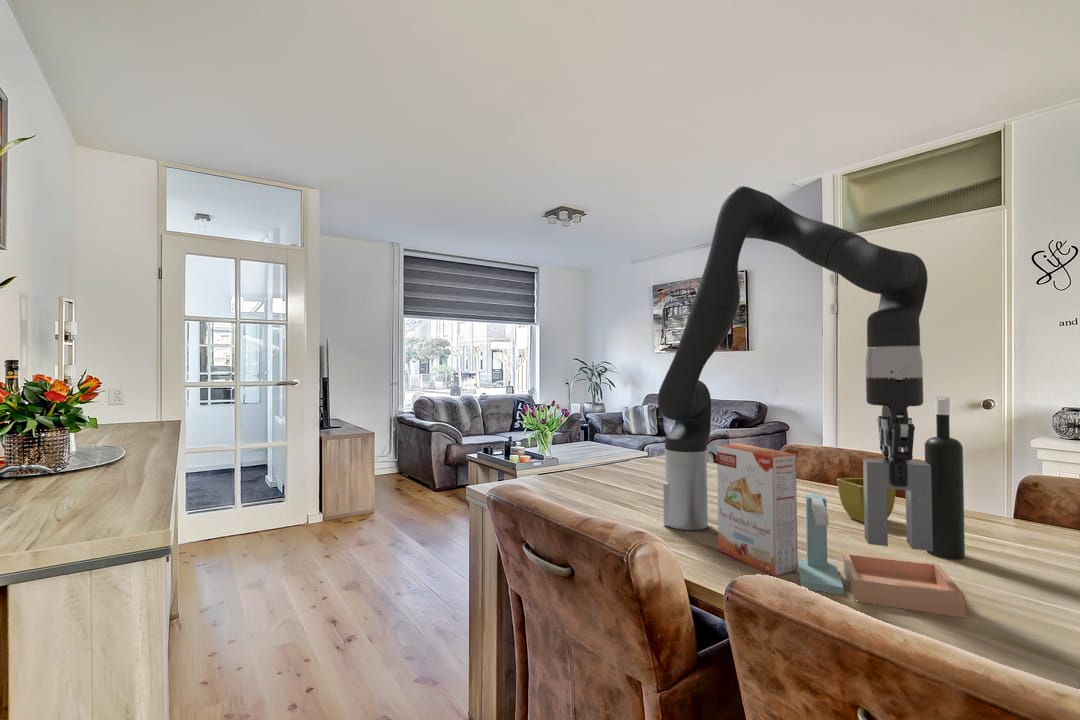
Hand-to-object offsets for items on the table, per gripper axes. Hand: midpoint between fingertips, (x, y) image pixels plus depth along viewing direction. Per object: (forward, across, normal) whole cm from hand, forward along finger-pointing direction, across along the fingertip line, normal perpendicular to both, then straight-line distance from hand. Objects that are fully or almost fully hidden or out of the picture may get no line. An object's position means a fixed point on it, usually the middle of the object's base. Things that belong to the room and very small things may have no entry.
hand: (895, 482), depth 83 cm
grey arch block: (+10, 0, 0) cm, 10 cm away
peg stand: (+17, 0, -11) cm, 21 cm away
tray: (+17, 0, 0) cm, 17 cm away
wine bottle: (+17, -24, +12) cm, 32 cm away
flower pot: (+17, -44, +2) cm, 47 cm away
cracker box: (+17, -6, -21) cm, 28 cm away
